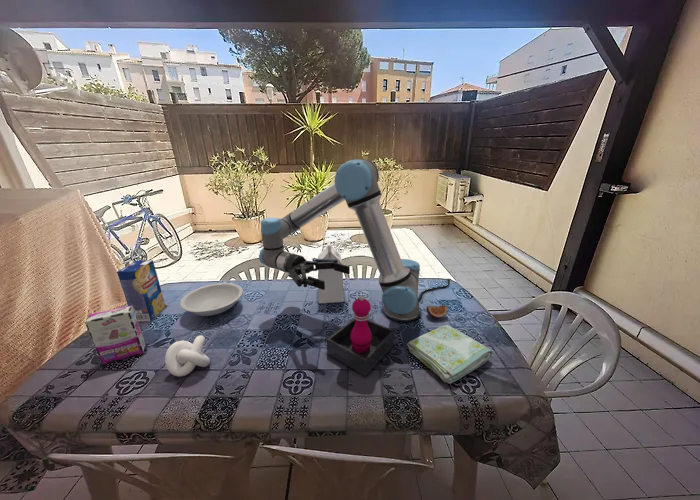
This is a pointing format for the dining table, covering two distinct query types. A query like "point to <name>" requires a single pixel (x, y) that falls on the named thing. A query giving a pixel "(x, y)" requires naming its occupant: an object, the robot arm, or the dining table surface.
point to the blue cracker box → (142, 289)
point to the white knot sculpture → (186, 356)
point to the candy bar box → (116, 334)
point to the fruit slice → (437, 311)
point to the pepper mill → (361, 326)
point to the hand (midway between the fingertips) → (337, 277)
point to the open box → (360, 362)
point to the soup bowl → (211, 299)
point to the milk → (330, 278)
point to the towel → (449, 353)
